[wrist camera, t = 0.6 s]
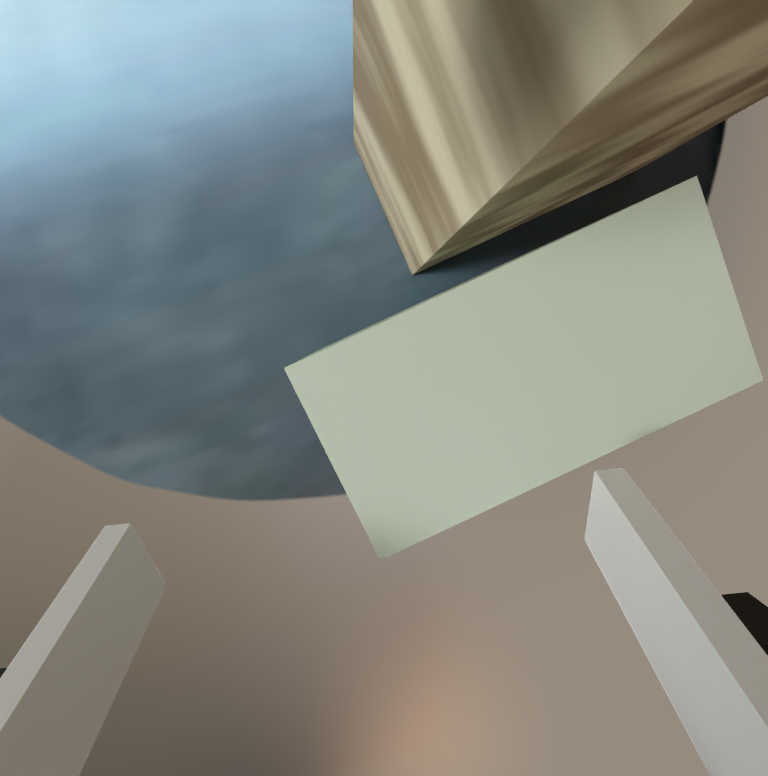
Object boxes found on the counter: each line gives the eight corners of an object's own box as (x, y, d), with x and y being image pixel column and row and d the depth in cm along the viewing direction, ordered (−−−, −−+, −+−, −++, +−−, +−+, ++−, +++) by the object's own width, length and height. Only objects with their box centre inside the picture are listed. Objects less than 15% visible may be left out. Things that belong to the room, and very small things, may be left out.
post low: (365, 430, 33) (380, 560, 14) (325, 346, 32) (283, 368, 13) (532, 352, 33) (763, 380, 14) (497, 266, 32) (697, 175, 13)
